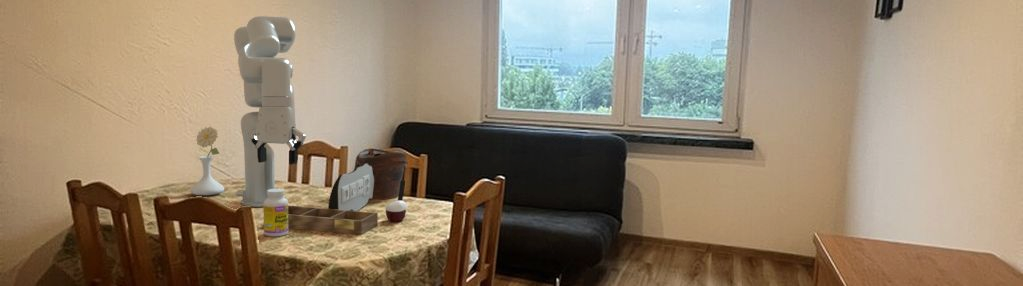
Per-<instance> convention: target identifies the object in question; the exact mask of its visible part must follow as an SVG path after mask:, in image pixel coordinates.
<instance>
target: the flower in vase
mask: <svg viewBox="0 0 1023 286" xmlns="http://www.w3.org/2000/svg"><path fill="white" fill-rule="evenodd" d="M218 137H219V136H218V130H217V129H216V128H214V127H212V126H209V127H207V126H206V127H204V129H203V128H202V129H200V131H199V132H198V134H197V135H196V145H198V146H199V149H200V150H201V151H203V152H205V153H206V154H207V155H201V156H198V159H199V160H200V161H201V164H202V171H203V173H202V177H201V178H200V179H199V180H198V181H197V182H195V184H194V185H192V186H191V188H189V192H190V193H191V194H193V195H196V196H214V195H217V194H220V193H223V192H224V190H225V187H224V186H223V185H222V184H221V183H220V182H218V181H217V180H216V179H214V178H213V177H212V174H211V165H212V164H211V163H212V160H213V159H214V158H215V155H220V151H219V150H218V148H216V147H214V148H213V145H214V144H215V142H216V141H217V138H218ZM208 146H209V147H210V150H209V151H207V150H205V149H204V148H207V147H208ZM210 154H211V155H210Z"/></svg>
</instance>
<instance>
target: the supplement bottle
mask: <svg viewBox="0 0 1023 286" xmlns="http://www.w3.org/2000/svg"><path fill="white" fill-rule="evenodd" d="M267 196H268V198H267V199H266V200H265V201H264V206H263V234H264V235H265V237H266V236H267V237H271V238H275V237H282V236H285V235H287V234H288V233H289V228H288V205H289V201H288V199H287V198H285V189H282V188H275V189H269V190H267Z"/></svg>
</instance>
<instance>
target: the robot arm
mask: <svg viewBox="0 0 1023 286" xmlns="http://www.w3.org/2000/svg"><path fill="white" fill-rule="evenodd" d="M296 35H297V33H296V26H295V23H294V22H293V21H292V19H290V18H288V17H285V16H284V17H281V16H280V17H279V16H267V15H265V16H264V15H263V16H262V15H260V16H254V17H252V18H251V19H249V21H248V22H247V24H246V26H241V27H238V28H236V29H235V30H234V35H233V37H234V39H233V40H234V46H235V47H234V48H235V50H236V53H237V55H238V58H237V62H238V63H237V64H238V69H239V70H238V71H239V74H240V78H241V79H242V81H243V93H244V96H243V97H244V102H245V104H246V105H247V106H248V107H250V108H256V109H257V108H258V109H259V110H258V111H250V112H247V113H245V114H243V116H242V117H241V119H240V129H241V134H242V140H243V142H242V143H243V152H244V153H243V154H244V185H245V188H244V189H238V190H237V192H236V193H235V194H236V195H235V196H237V197H242V199H241V200H240V205H242V206H244V207H249V206H250V207H251V208H256V207H257V208H258V207H262V208H264V201H265V200H266V199H267V198H268V196H267V190H269V189H276V186H275V185H276V183H275V180H276V178H275V176H276V175H275V153H274V149H273V148H272V147H271V146H270V145H269V144H279V145H281V144H282V145H283V144H284V145H287V147H288V148H289V151H288V165H297V163H298V160H299V152H298V150H299V149H300V148H301V146H303V145H304V142H305V140H306V137H307V135H306V134H305V133H303V132H302V131H300V130H299V129H297V126H296V108H295V93H294V87H293V85H292V83H291V79H292V78H293V73H294V71H293V70H294V69H293V64H292V63H291V62H290V61H289V59H287V58H285V57H276V56H277V55H278V54H284V53H285V54H286V53H288V52H289V51H290V49H291V48H292V46H293V45H294V42H295V40H296ZM297 137H298V139H297ZM296 139H297V141H296Z"/></svg>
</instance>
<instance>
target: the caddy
mask: <svg viewBox="0 0 1023 286" xmlns="http://www.w3.org/2000/svg"><path fill="white" fill-rule="evenodd" d="M376 227H378V212H373V211H372V212H369V211H360V210H358V211H350V210H338V209H328V208H325V207H324V208H323V207H322V208H321V207H315V206H314V207H311V206H300V205H289V204H288V229H295V230H297V229H298V230H304V231H305V230H306V231H317V232H325V233H326V232H327V233H328V232H329V233H339V234H347V235H348V234H350V235H351V234H352V235H358V236H359V235H364V234H366V233H367V232H369V231H371V230H372V229H373V228H376Z"/></svg>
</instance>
